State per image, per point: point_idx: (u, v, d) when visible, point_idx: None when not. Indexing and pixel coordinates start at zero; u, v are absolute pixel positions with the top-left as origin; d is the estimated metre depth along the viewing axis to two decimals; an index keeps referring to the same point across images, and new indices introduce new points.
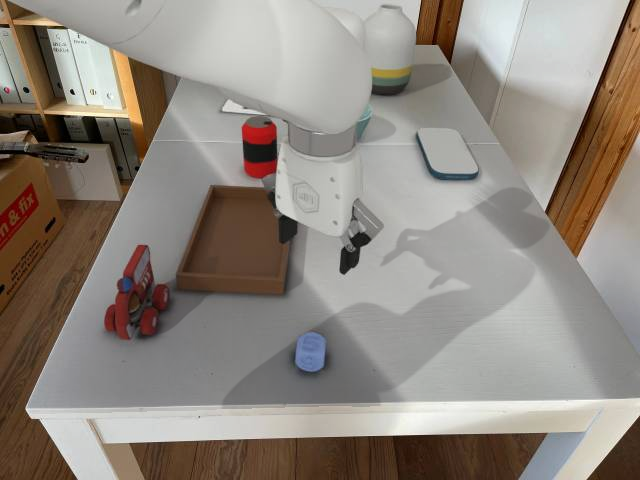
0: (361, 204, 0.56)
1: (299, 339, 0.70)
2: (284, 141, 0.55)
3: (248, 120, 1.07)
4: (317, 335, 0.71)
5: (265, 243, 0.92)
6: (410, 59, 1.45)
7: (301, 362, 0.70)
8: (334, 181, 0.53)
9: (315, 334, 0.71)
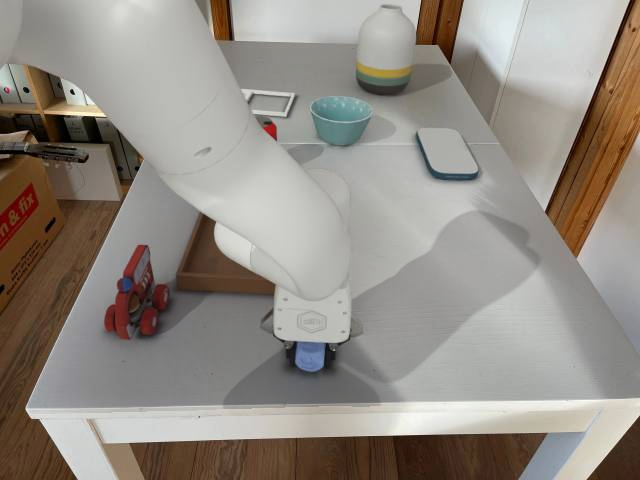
0: (351, 311, 0.66)
1: None
2: None
3: None
4: None
5: None
6: (410, 59, 1.45)
7: (301, 362, 0.70)
8: (341, 302, 0.61)
9: None
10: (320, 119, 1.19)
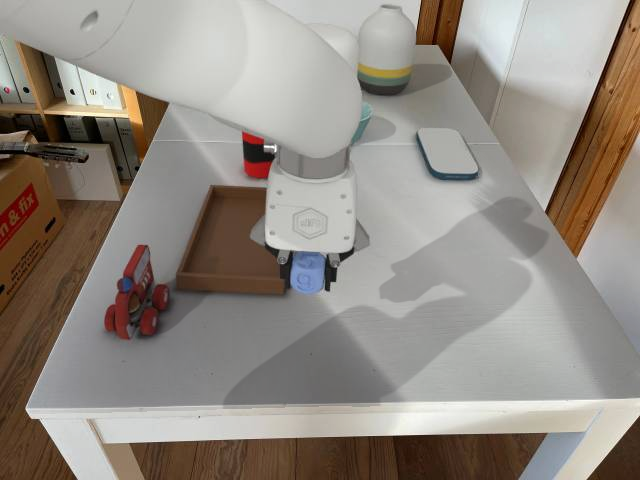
0: (356, 218, 0.57)
1: (295, 256, 0.61)
2: (276, 172, 0.51)
3: None
4: (316, 253, 0.62)
5: None
6: (410, 59, 1.45)
7: (298, 281, 0.60)
8: (345, 197, 0.52)
9: (313, 252, 0.62)
10: None
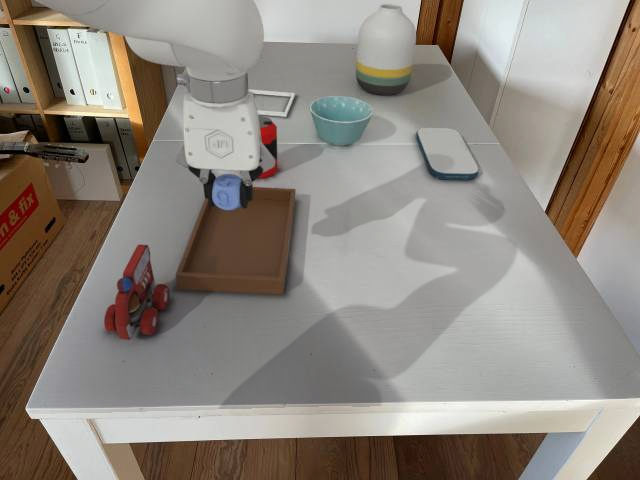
0: (261, 142, 0.69)
1: (216, 178, 0.73)
2: (188, 100, 0.63)
3: None
4: (234, 176, 0.74)
5: (265, 243, 0.92)
6: (410, 59, 1.45)
7: (218, 198, 0.73)
8: (244, 120, 0.64)
9: (232, 175, 0.74)
10: (320, 119, 1.19)
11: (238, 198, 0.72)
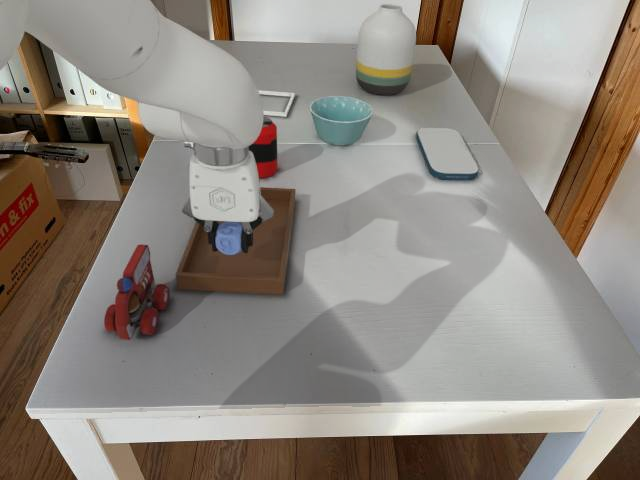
0: (260, 196, 0.76)
1: (219, 226, 0.80)
2: (194, 162, 0.69)
3: None
4: (236, 223, 0.80)
5: (265, 243, 0.92)
6: (410, 59, 1.45)
7: (221, 245, 0.79)
8: (245, 179, 0.71)
9: (234, 223, 0.80)
10: (320, 119, 1.19)
11: (239, 245, 0.79)
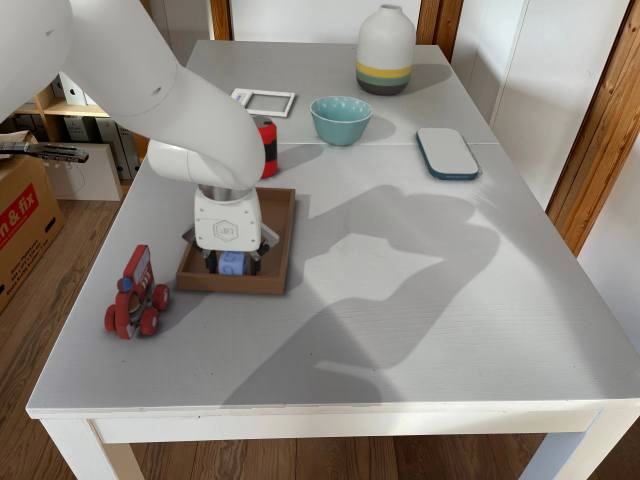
0: (263, 224, 0.79)
1: (222, 253, 0.83)
2: (198, 196, 0.73)
3: None
4: None
5: None
6: (410, 59, 1.45)
7: (224, 272, 0.82)
8: (248, 212, 0.74)
9: None
10: (320, 119, 1.19)
11: (241, 272, 0.82)
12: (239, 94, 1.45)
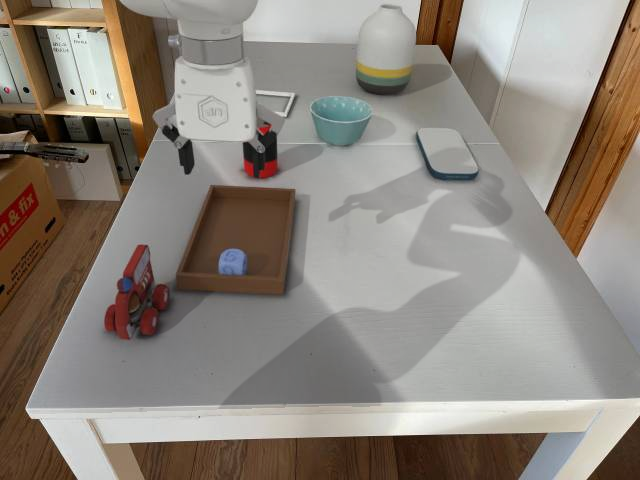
0: (261, 106, 0.65)
1: (222, 253, 0.83)
2: (179, 63, 0.59)
3: None
4: (238, 250, 0.84)
5: (265, 243, 0.92)
6: (410, 59, 1.45)
7: (224, 272, 0.82)
8: (240, 85, 0.60)
9: (236, 250, 0.84)
10: (320, 119, 1.19)
11: (241, 272, 0.82)
12: None
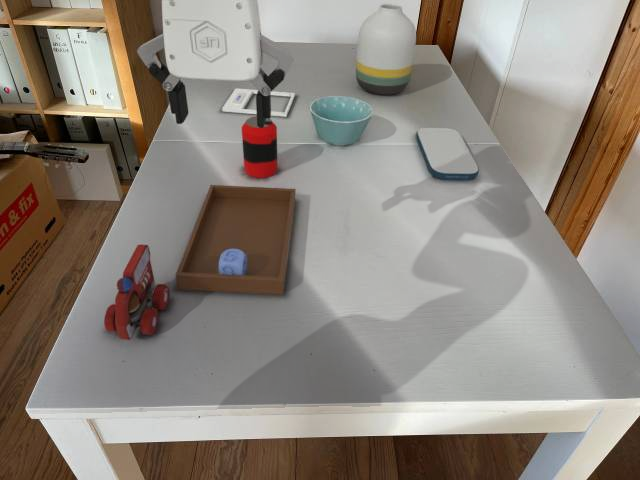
0: (266, 37, 0.54)
1: (222, 253, 0.83)
2: None
3: (248, 120, 1.07)
4: (238, 250, 0.84)
5: (265, 243, 0.92)
6: (410, 59, 1.45)
7: (224, 272, 0.82)
8: (241, 8, 0.50)
9: (236, 250, 0.84)
10: (320, 119, 1.19)
11: (241, 272, 0.82)
12: (239, 94, 1.45)
